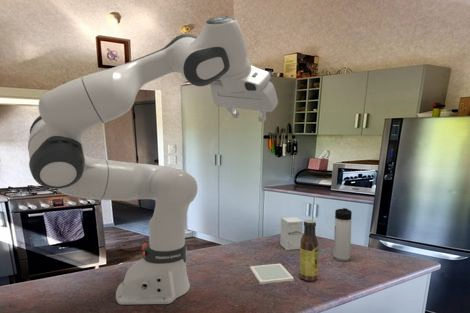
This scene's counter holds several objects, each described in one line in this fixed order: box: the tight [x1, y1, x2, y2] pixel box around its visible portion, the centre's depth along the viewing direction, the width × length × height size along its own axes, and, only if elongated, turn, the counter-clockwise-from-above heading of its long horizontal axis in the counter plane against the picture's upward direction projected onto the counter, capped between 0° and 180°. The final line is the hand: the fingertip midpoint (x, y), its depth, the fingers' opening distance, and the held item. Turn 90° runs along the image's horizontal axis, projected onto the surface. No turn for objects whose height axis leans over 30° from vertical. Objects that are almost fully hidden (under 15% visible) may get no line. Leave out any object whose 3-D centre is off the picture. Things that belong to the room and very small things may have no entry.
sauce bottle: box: [299, 219, 320, 282], centre depth 103 cm, size 6×6×20 cm
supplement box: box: [279, 216, 304, 251], centre depth 132 cm, size 7×7×13 cm
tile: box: [249, 263, 295, 285], centre depth 106 cm, size 12×12×1 cm
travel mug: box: [333, 207, 353, 262], centre depth 120 cm, size 6×7×20 cm
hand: (249, 118), depth 90 cm, fingers open, 8 cm apart
